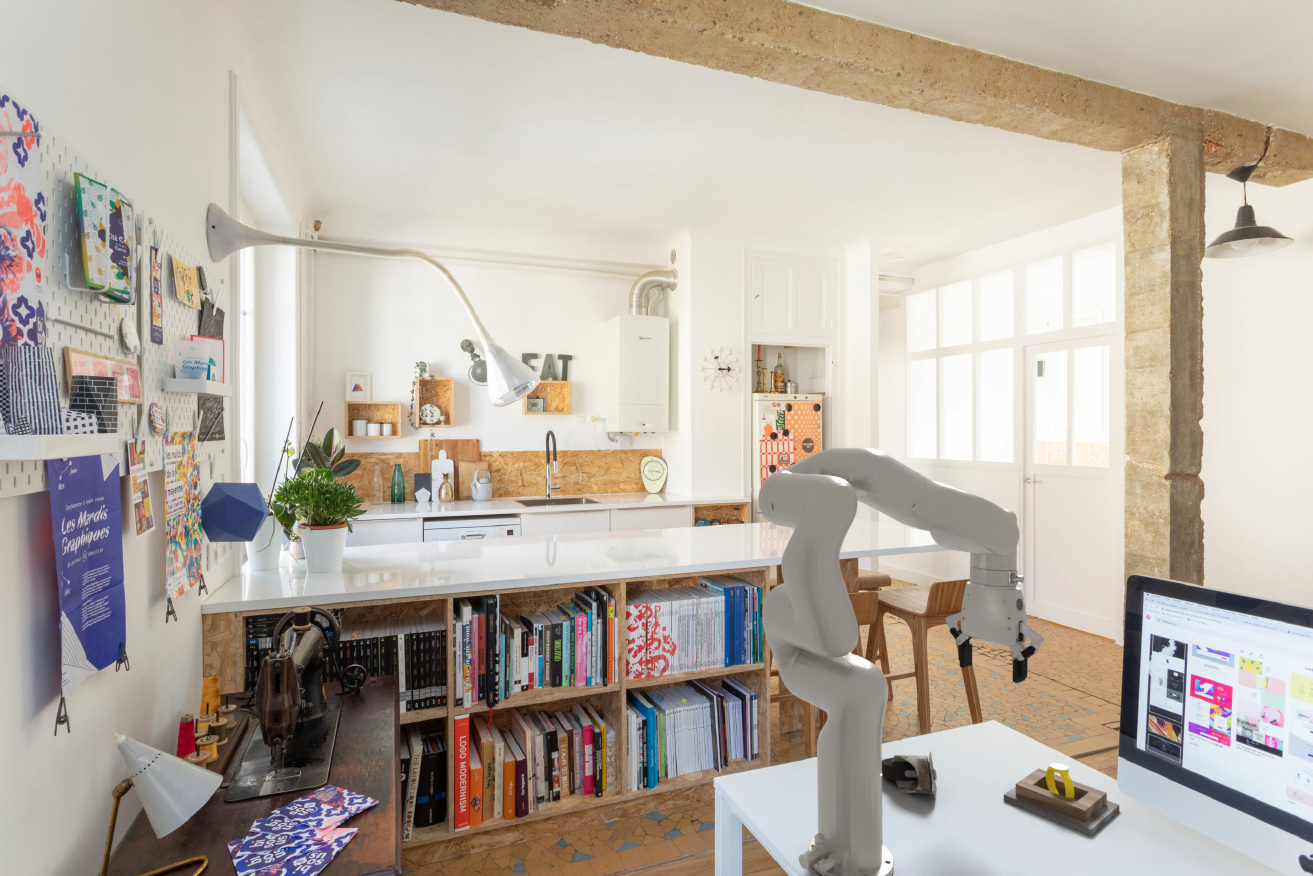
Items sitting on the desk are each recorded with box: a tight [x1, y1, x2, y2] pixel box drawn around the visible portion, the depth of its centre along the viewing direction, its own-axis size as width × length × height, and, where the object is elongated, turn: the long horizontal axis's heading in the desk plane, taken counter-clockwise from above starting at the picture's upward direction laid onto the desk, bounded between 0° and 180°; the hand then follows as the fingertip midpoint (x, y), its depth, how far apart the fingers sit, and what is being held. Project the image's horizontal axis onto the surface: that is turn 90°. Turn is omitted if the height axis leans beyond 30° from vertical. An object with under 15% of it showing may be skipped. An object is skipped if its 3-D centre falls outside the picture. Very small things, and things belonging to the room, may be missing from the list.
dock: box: [1003, 768, 1120, 837], centre depth 120 cm, size 12×14×3 cm
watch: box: [1045, 762, 1074, 800], centre depth 120 cm, size 6×3×6 cm, turn 2°
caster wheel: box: [882, 750, 938, 798], centre depth 128 cm, size 7×11×10 cm
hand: (991, 673), depth 122 cm, fingers open, 9 cm apart
